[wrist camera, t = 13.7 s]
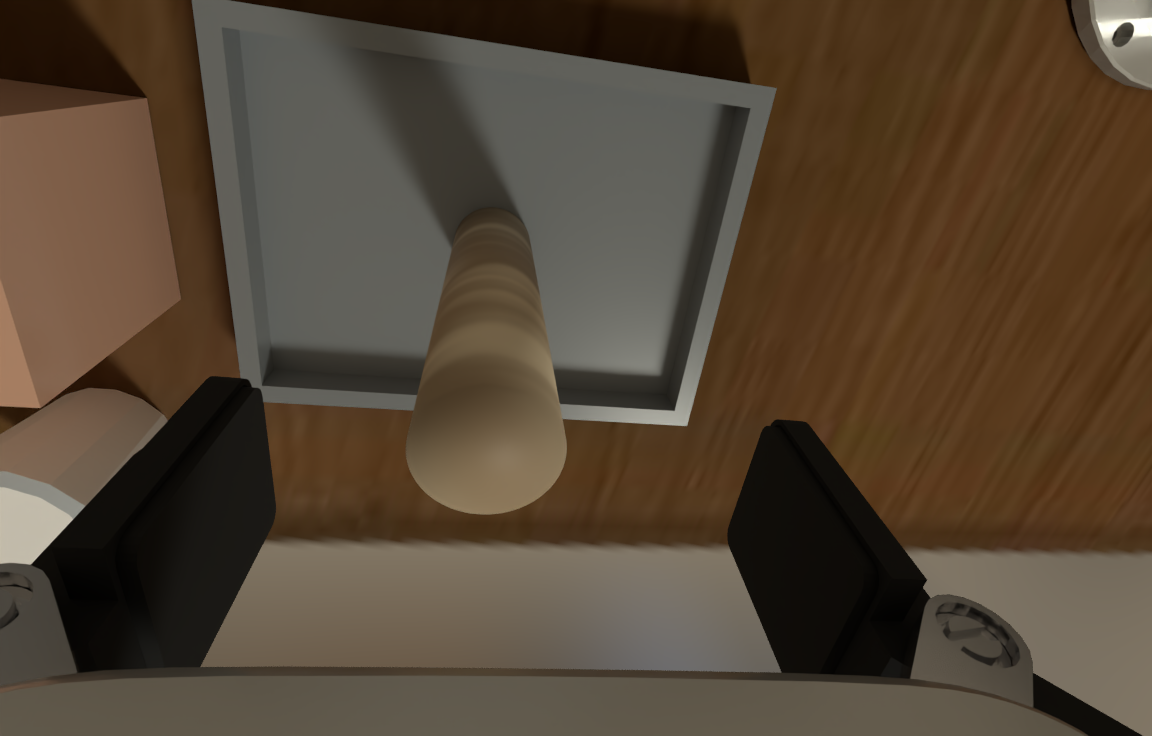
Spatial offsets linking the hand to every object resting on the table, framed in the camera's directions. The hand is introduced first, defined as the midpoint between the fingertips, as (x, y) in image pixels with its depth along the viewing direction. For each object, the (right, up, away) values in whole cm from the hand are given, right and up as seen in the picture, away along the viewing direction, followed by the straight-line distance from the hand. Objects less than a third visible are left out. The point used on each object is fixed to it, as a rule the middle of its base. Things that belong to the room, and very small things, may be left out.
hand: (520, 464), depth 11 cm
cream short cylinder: (-21, -1, +17) cm, 27 cm away
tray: (-3, +7, +15) cm, 17 cm away
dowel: (-2, +7, +14) cm, 16 cm away
